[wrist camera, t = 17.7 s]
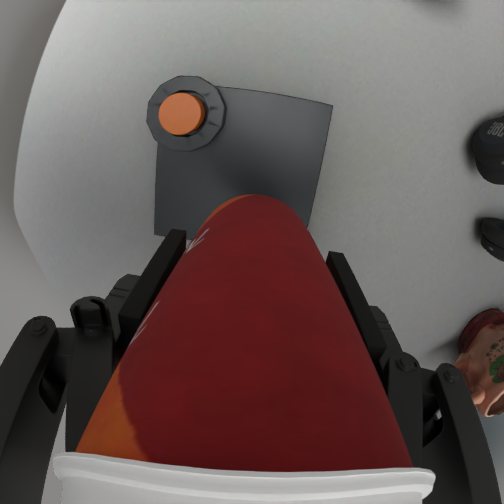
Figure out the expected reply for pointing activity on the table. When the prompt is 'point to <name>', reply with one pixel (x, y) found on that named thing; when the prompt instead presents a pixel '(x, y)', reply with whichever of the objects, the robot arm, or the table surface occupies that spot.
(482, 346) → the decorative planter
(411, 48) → the table surface
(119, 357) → the robot arm
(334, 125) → the table surface
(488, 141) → the headphones
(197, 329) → the coffee cup
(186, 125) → the button
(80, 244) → the table surface
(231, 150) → the scale
